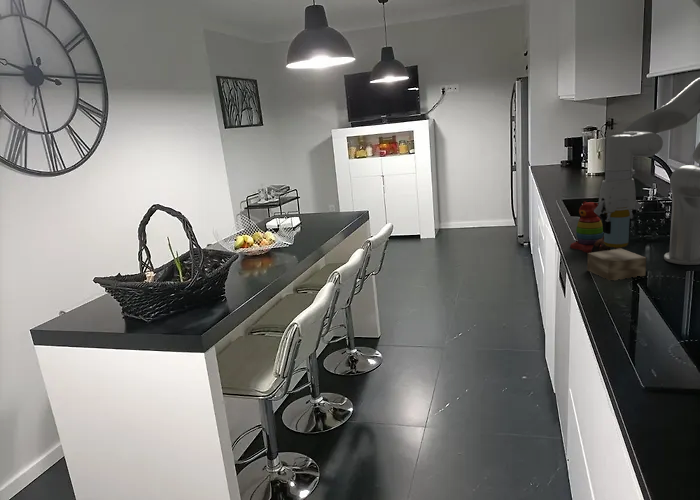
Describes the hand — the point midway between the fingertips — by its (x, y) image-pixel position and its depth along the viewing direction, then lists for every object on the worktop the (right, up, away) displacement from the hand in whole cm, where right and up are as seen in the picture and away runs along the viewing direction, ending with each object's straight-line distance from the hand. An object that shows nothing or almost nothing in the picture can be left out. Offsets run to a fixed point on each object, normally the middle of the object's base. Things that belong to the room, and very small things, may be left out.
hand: (616, 231), depth 167 cm
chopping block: (+1, -13, +4) cm, 14 cm away
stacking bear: (+6, -5, +33) cm, 34 cm away
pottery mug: (+6, -9, +21) cm, 23 cm away
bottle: (0, -5, +1) cm, 5 cm away
